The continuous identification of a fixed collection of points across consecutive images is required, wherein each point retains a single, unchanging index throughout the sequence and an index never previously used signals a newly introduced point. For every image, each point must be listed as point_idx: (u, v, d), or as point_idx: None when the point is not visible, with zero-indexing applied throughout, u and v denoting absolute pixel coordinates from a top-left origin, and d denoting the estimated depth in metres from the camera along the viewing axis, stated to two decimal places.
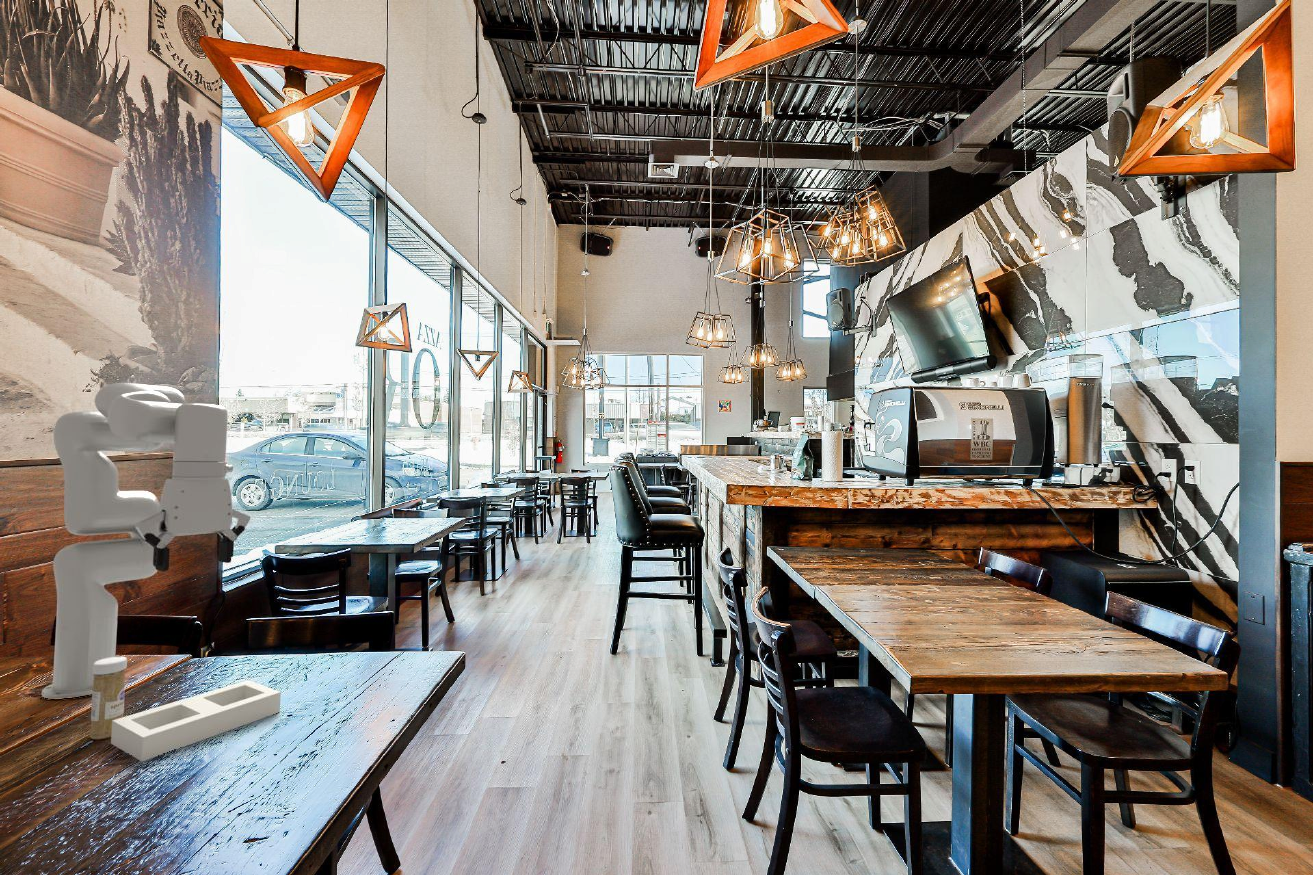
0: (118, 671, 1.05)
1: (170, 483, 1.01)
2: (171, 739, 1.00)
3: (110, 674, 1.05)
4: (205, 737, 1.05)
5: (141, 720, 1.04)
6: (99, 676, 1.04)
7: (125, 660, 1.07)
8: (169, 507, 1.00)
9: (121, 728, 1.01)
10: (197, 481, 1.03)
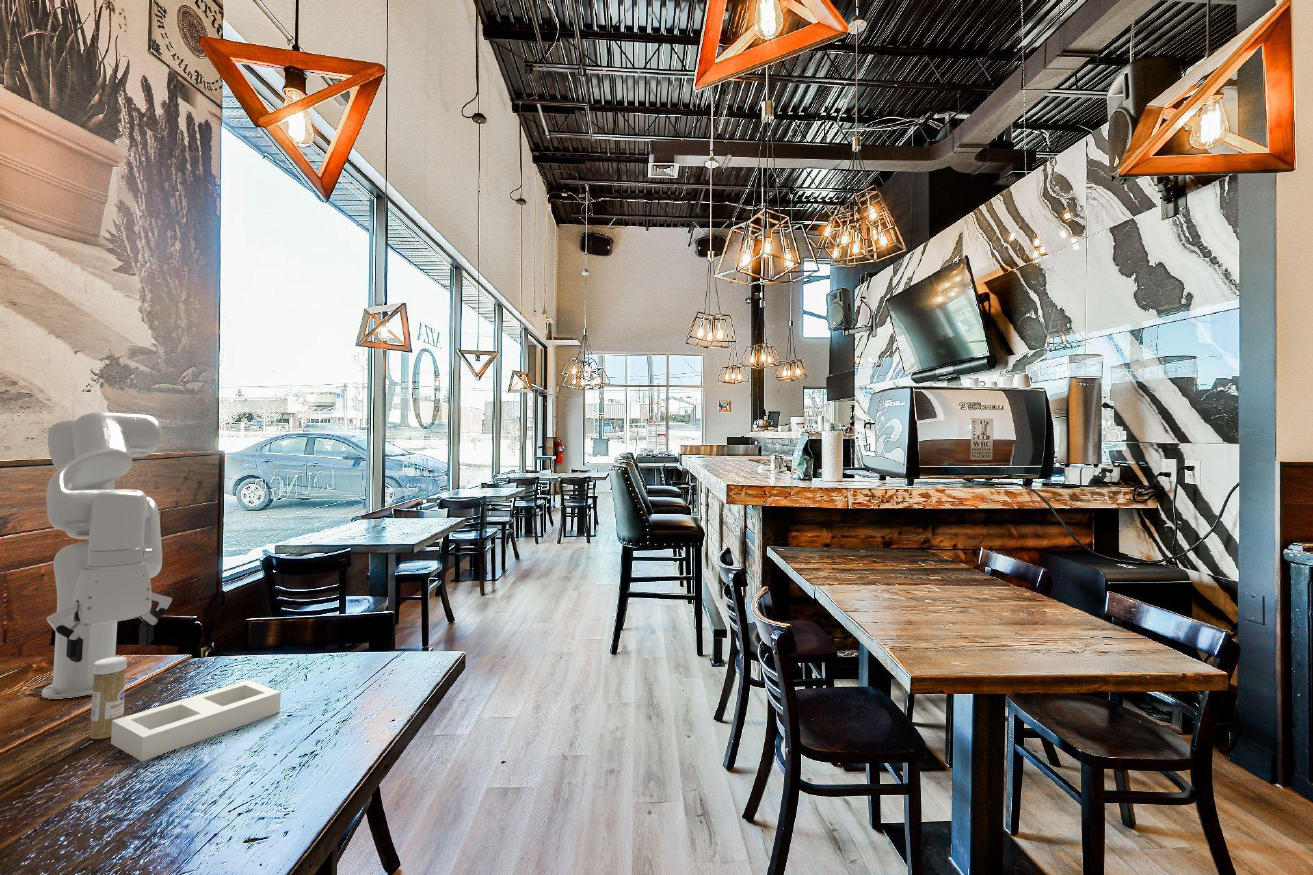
0: (118, 671, 1.05)
1: (84, 573, 1.02)
2: (171, 739, 1.00)
3: (110, 674, 1.05)
4: (205, 737, 1.05)
5: (141, 720, 1.04)
6: (99, 676, 1.04)
7: (125, 660, 1.07)
8: (82, 598, 1.01)
9: (121, 728, 1.01)
10: (112, 570, 1.04)
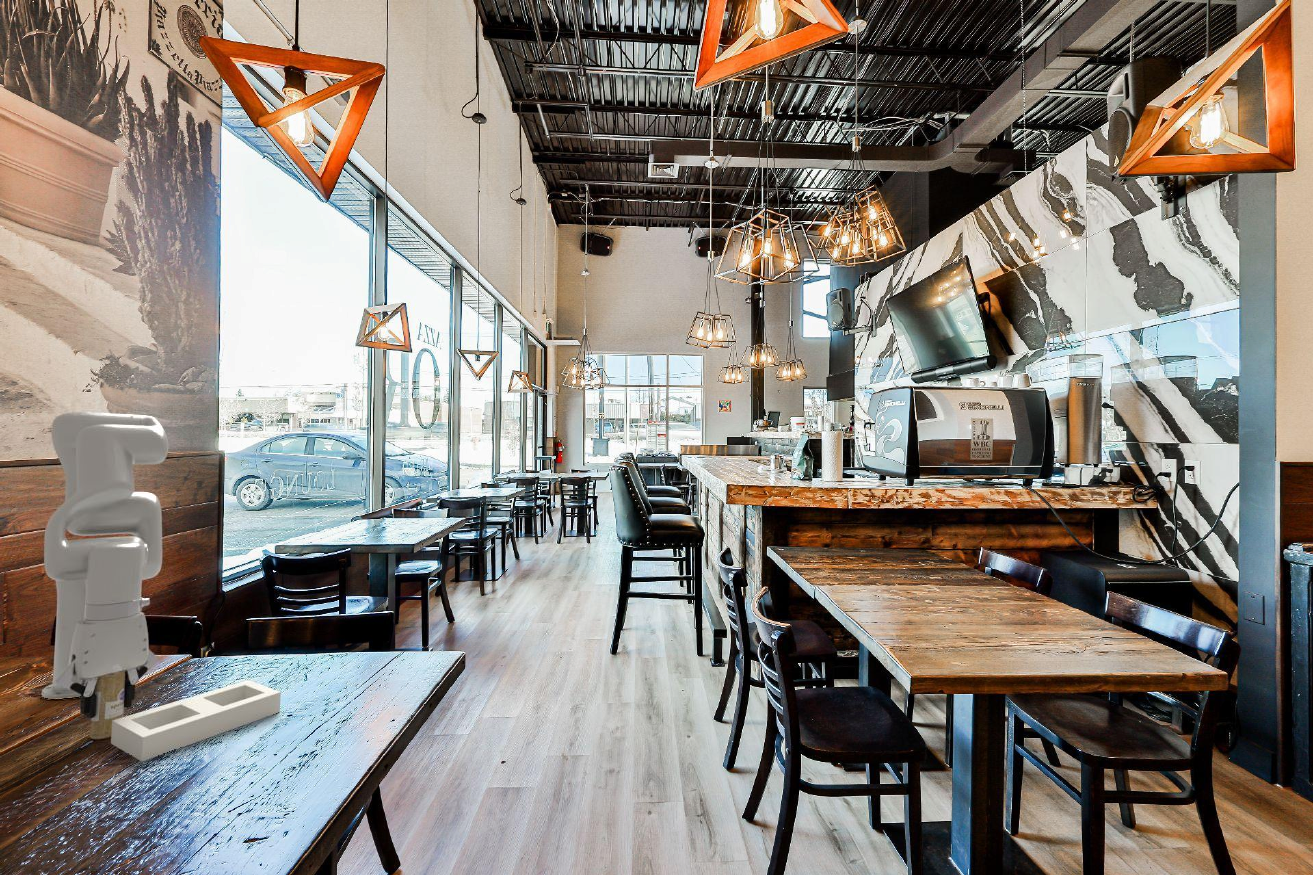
0: (118, 671, 1.05)
1: (81, 627, 1.02)
2: (171, 739, 1.00)
3: (110, 674, 1.05)
4: (205, 737, 1.05)
5: (141, 720, 1.04)
6: None
7: None
8: (79, 652, 1.01)
9: (121, 728, 1.01)
10: (109, 623, 1.04)
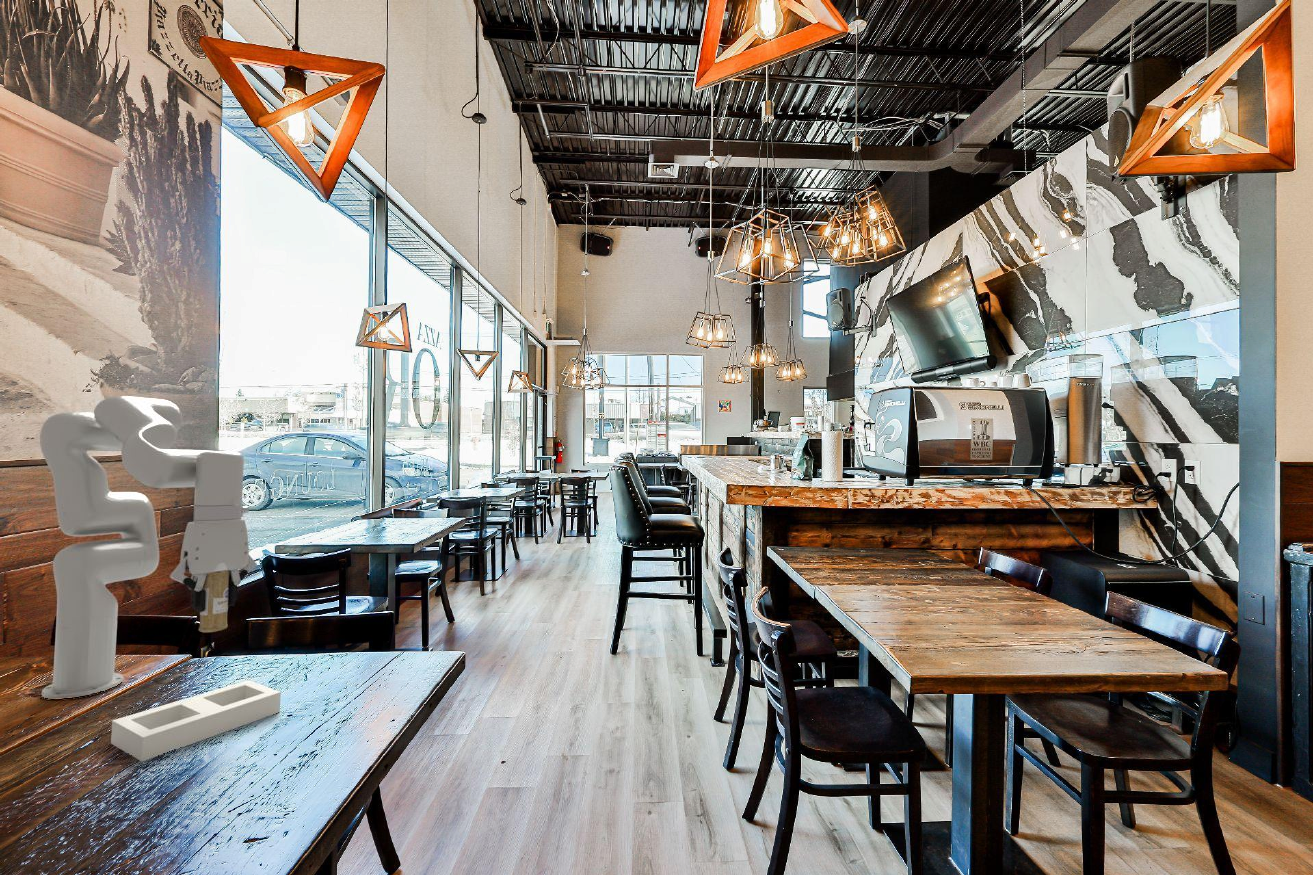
0: (224, 570, 1.13)
1: (192, 526, 1.09)
2: (171, 739, 1.00)
3: (217, 572, 1.12)
4: (205, 737, 1.05)
5: (141, 720, 1.04)
6: (208, 574, 1.11)
7: None
8: (191, 549, 1.08)
9: (121, 728, 1.01)
10: (216, 524, 1.11)
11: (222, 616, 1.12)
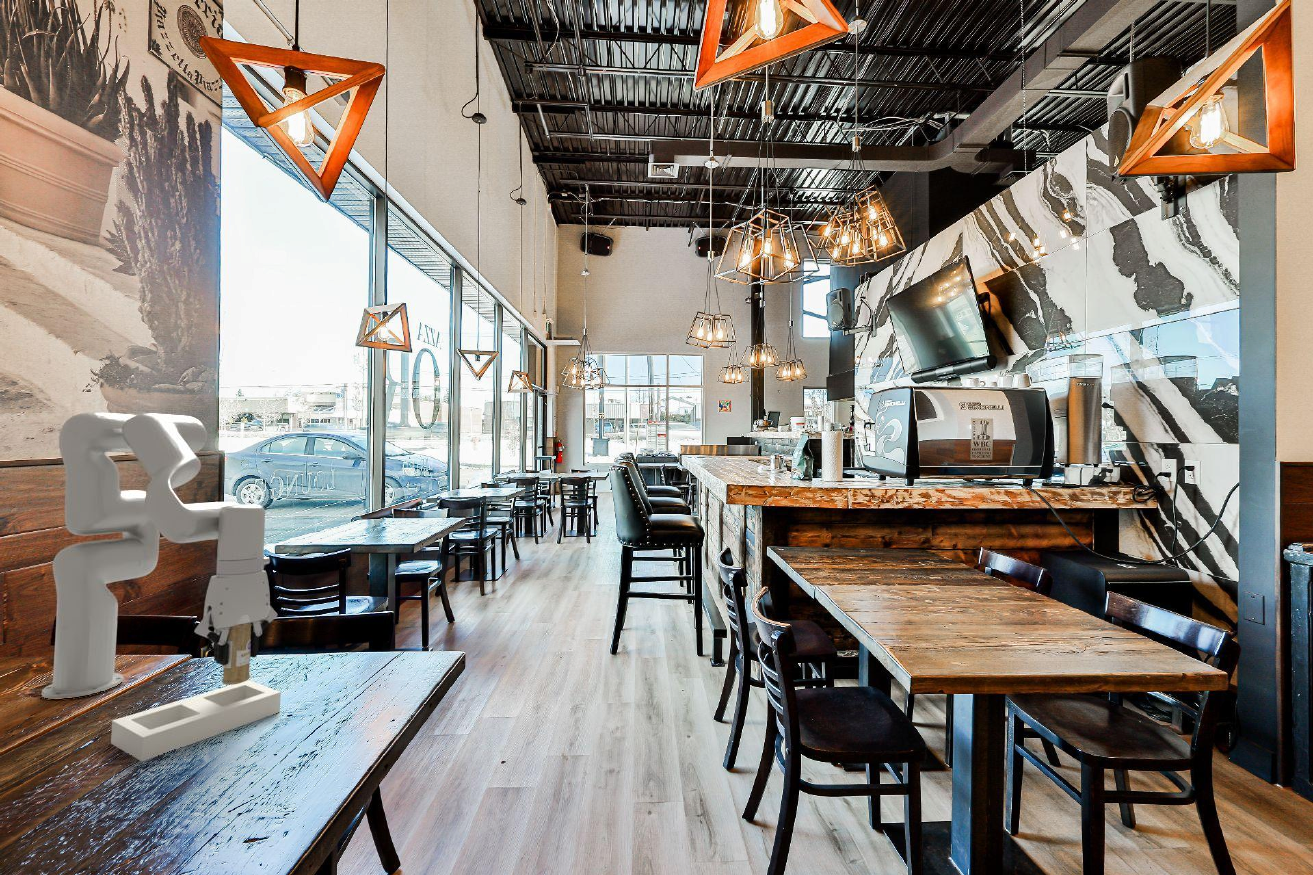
0: (246, 622, 1.14)
1: (216, 581, 1.11)
2: (171, 739, 1.00)
3: (240, 625, 1.13)
4: (205, 737, 1.05)
5: (141, 720, 1.04)
6: (231, 627, 1.12)
7: None
8: (215, 603, 1.10)
9: (121, 728, 1.01)
10: (239, 577, 1.13)
11: (245, 668, 1.14)
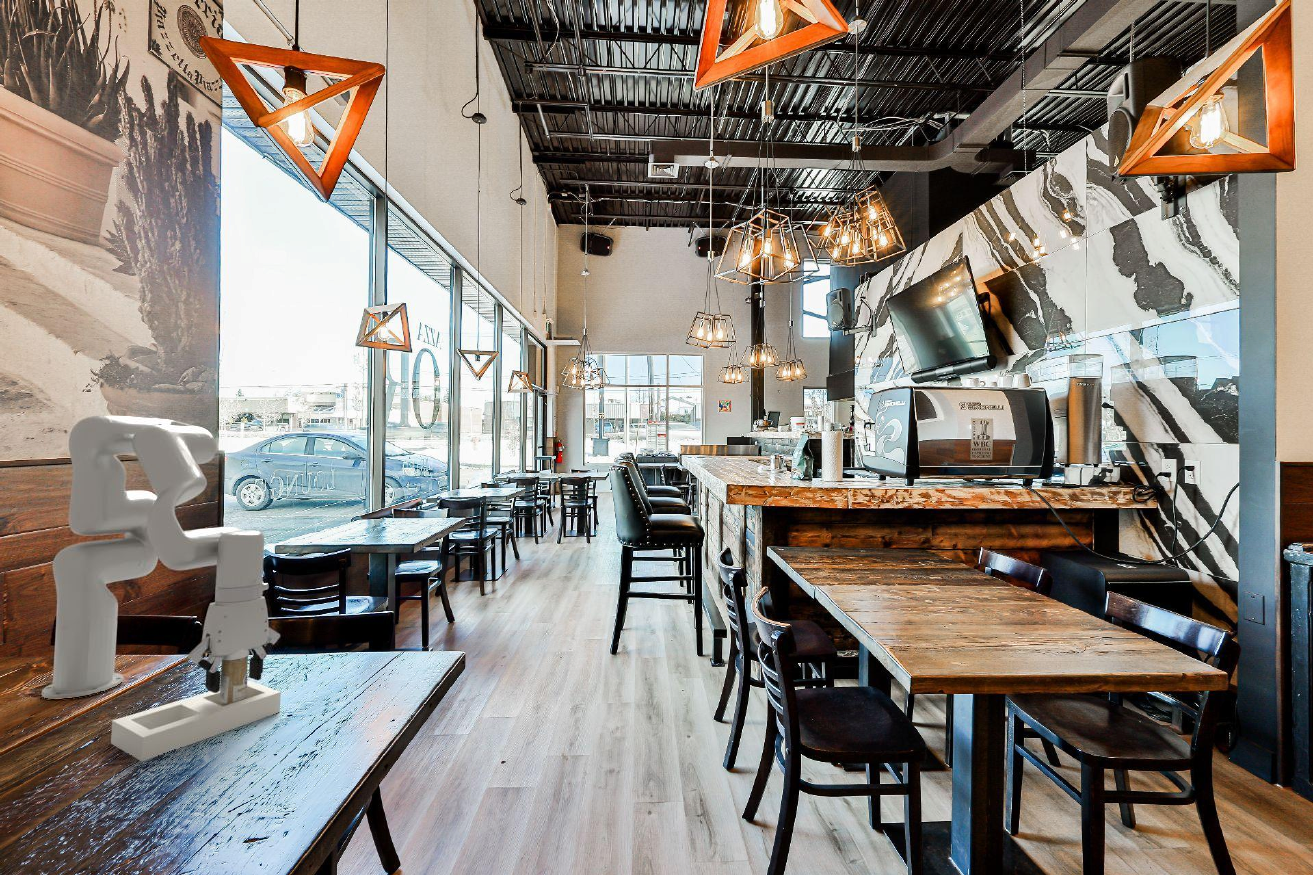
0: (243, 657, 1.14)
1: (214, 609, 1.11)
2: (171, 739, 1.00)
3: (237, 660, 1.13)
4: (205, 737, 1.05)
5: (141, 720, 1.04)
6: (228, 662, 1.12)
7: None
8: (213, 632, 1.10)
9: (121, 728, 1.01)
10: (238, 605, 1.12)
11: None
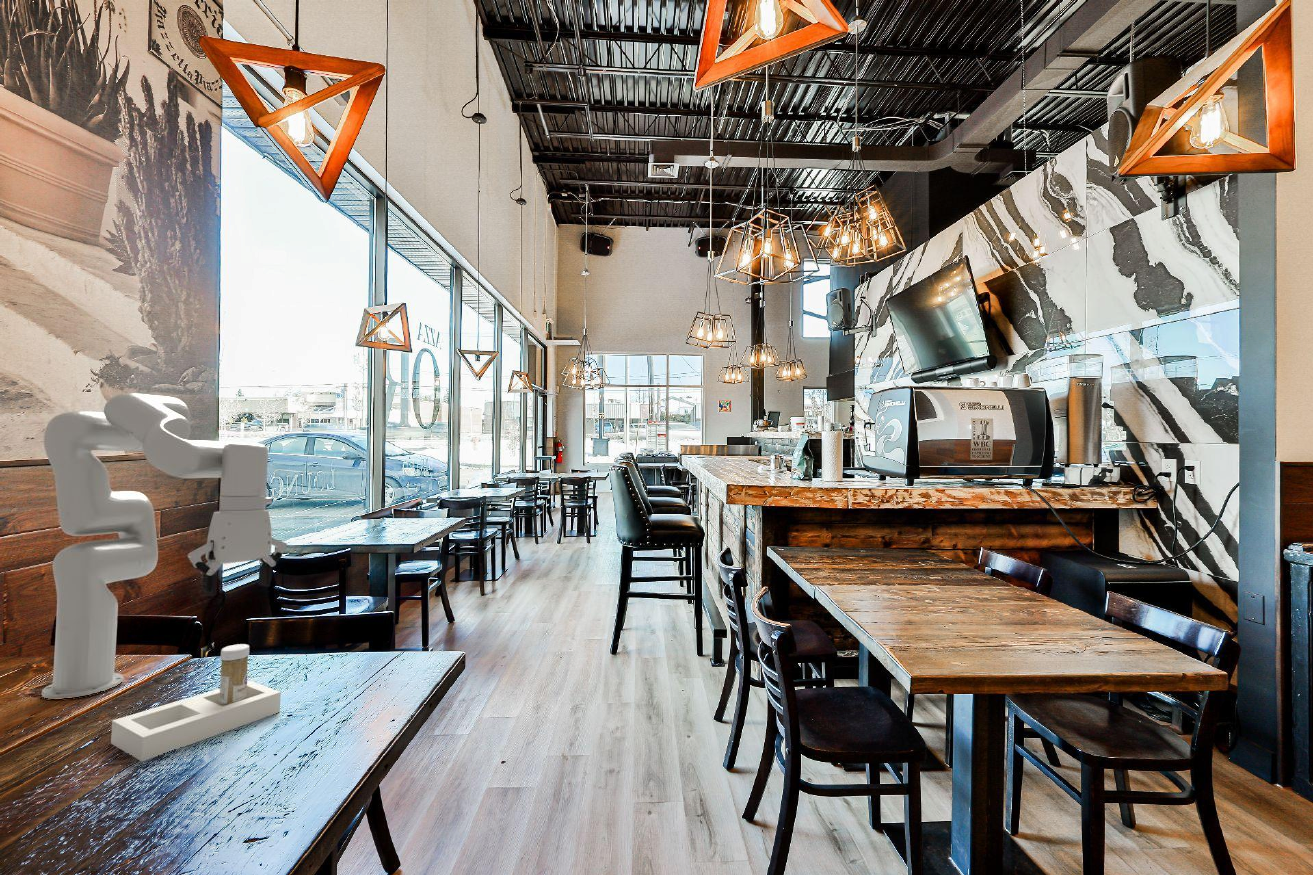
0: (243, 657, 1.14)
1: (218, 516, 1.12)
2: (171, 739, 1.00)
3: (237, 660, 1.13)
4: (205, 737, 1.05)
5: (141, 720, 1.04)
6: (228, 662, 1.12)
7: (248, 647, 1.15)
8: (217, 538, 1.11)
9: (121, 728, 1.01)
10: (241, 514, 1.14)
11: None
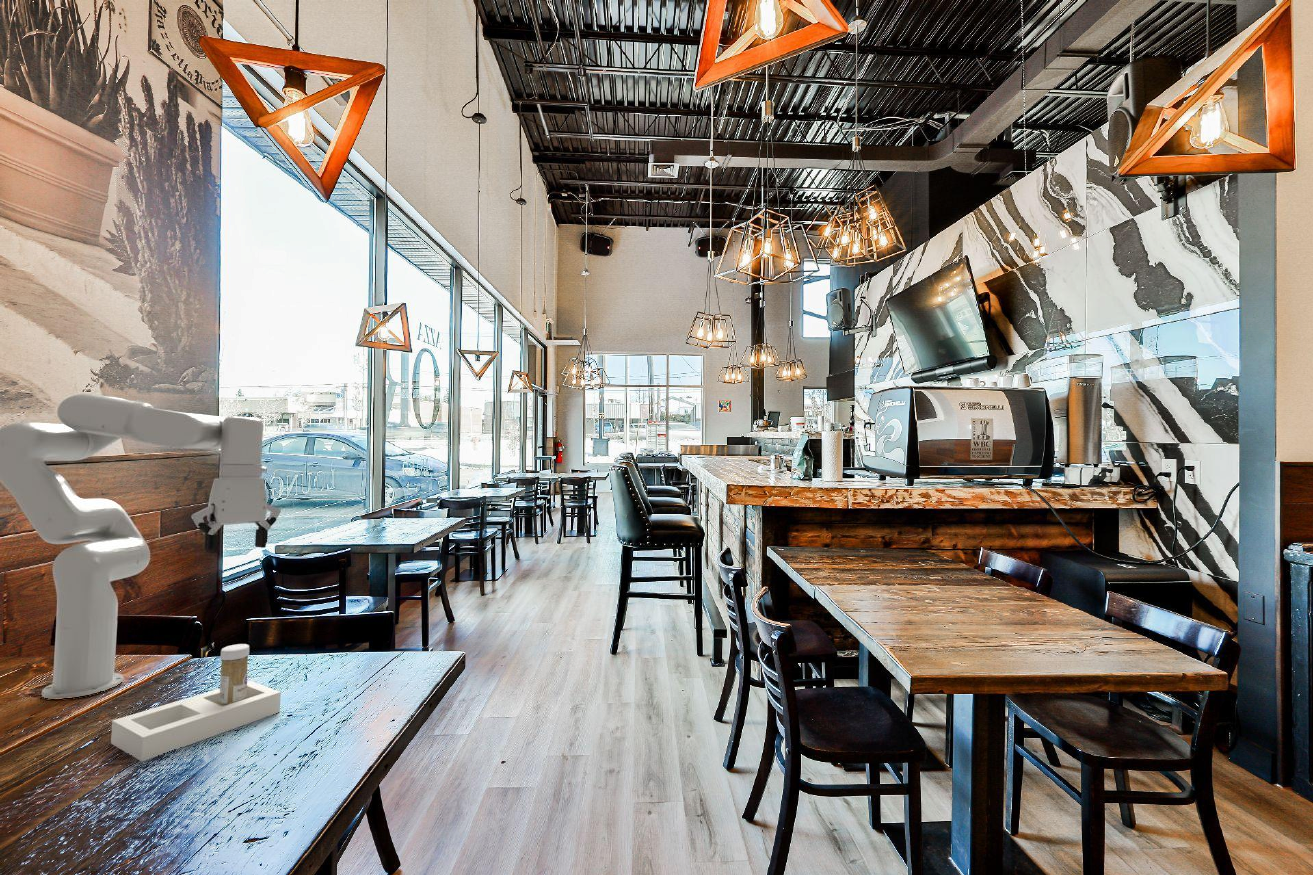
0: (243, 657, 1.14)
1: (218, 482, 1.24)
2: (171, 739, 1.00)
3: (236, 660, 1.13)
4: (205, 737, 1.05)
5: (141, 720, 1.04)
6: (228, 662, 1.12)
7: (248, 647, 1.15)
8: (217, 501, 1.23)
9: (121, 728, 1.01)
10: (239, 480, 1.26)
11: None
